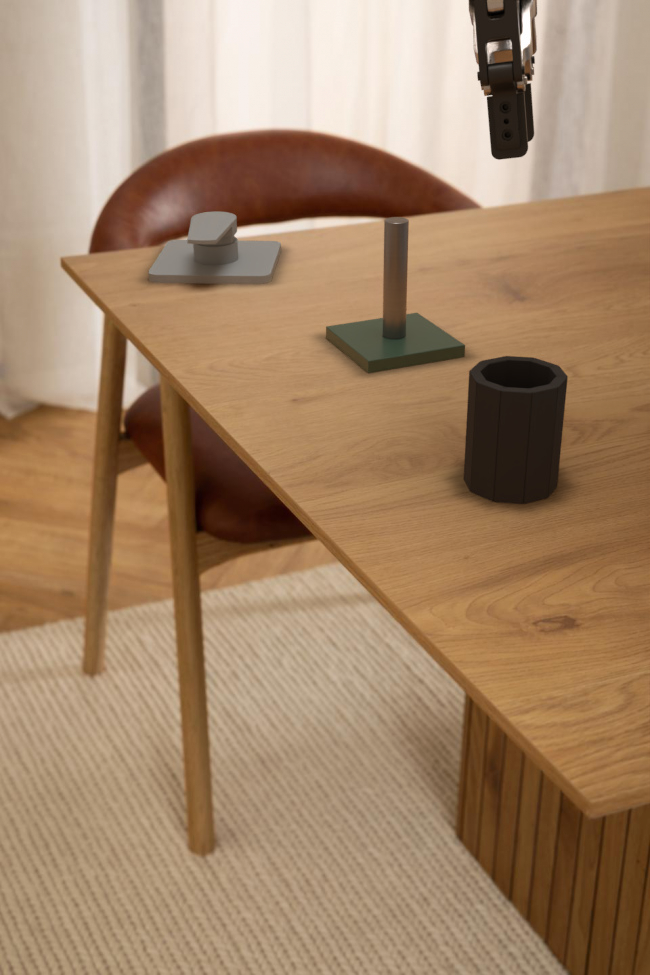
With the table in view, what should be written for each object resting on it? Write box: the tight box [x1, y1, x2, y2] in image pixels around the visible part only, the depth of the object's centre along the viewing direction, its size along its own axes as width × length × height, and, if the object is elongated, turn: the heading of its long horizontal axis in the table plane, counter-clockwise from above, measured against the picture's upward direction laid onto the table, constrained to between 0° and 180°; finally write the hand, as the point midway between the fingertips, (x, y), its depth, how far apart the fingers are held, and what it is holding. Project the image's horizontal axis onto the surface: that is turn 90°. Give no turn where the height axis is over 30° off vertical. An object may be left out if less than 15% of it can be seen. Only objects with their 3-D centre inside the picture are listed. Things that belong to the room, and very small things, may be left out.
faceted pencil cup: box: [463, 355, 569, 505], centre depth 78 cm, size 6×6×8 cm
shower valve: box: [147, 210, 282, 285], centre depth 121 cm, size 12×6×15 cm
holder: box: [325, 216, 466, 374], centre depth 100 cm, size 9×9×11 cm
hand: (514, 149), depth 76 cm, fingers open, 8 cm apart
